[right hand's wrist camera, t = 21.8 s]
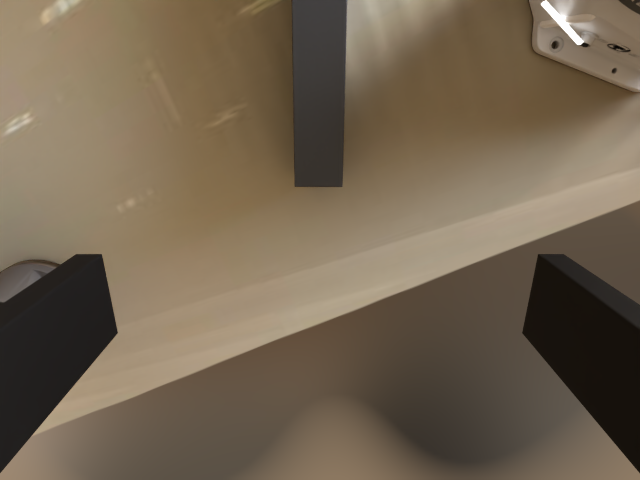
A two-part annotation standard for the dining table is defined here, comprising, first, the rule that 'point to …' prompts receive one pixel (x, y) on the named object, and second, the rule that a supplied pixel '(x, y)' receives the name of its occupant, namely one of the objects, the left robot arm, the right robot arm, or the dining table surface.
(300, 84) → the beam
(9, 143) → the dining table surface
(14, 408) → the right robot arm
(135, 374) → the dining table surface
